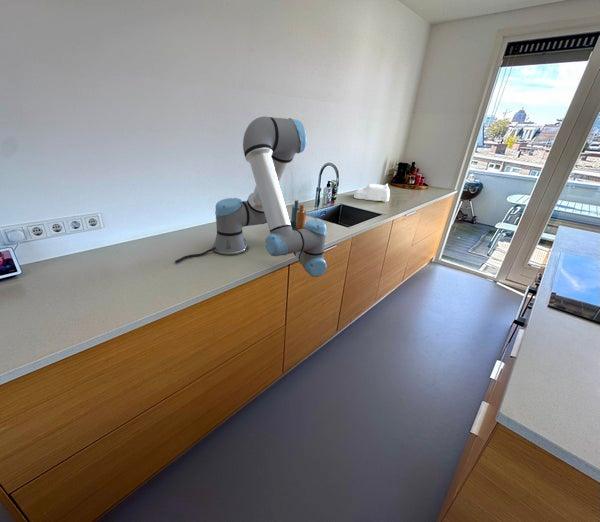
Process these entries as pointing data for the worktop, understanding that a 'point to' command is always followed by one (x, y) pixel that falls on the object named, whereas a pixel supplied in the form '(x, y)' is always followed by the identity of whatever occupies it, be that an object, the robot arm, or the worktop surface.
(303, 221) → the amber bottle
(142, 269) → the worktop surface
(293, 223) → the teal bottle
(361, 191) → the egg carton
